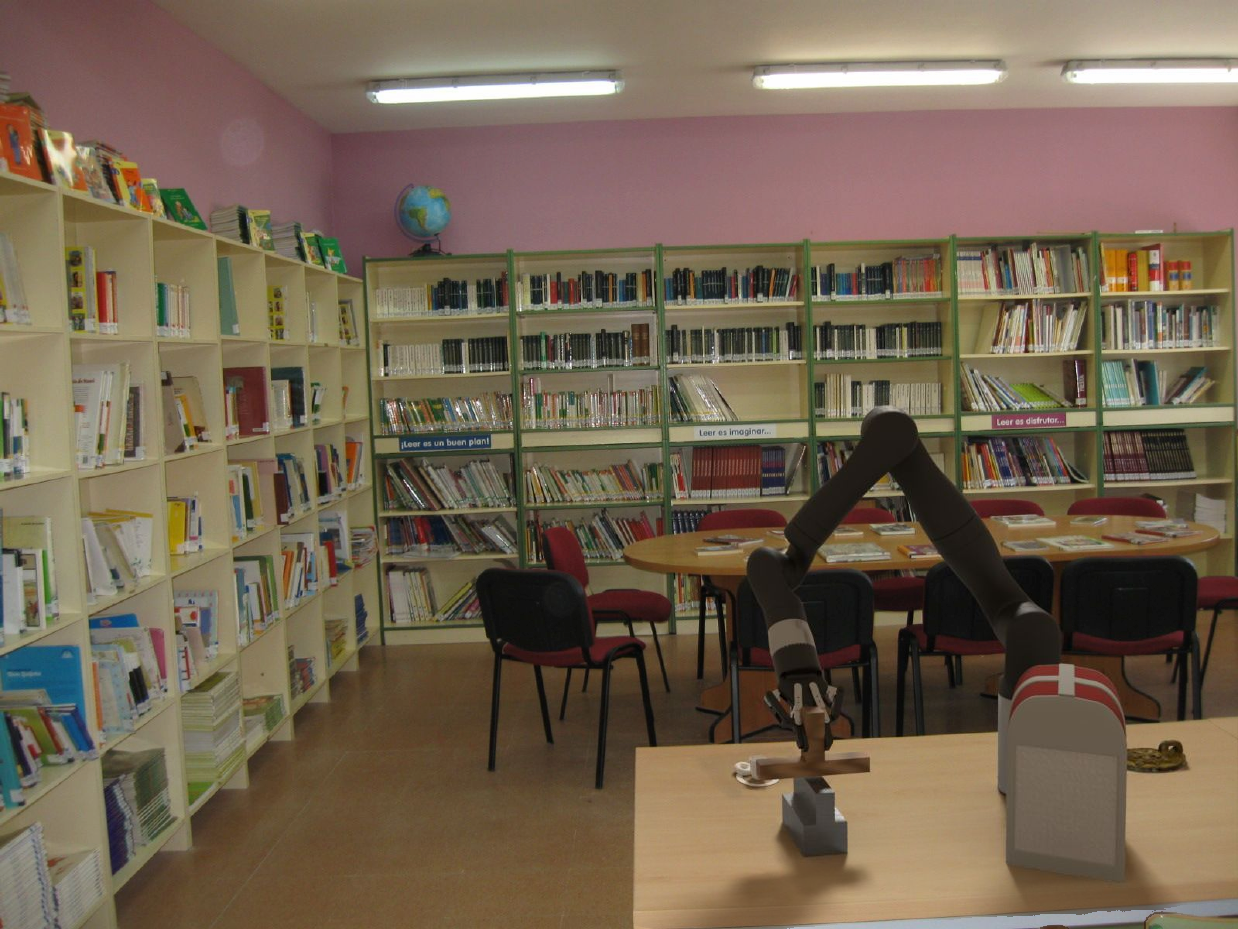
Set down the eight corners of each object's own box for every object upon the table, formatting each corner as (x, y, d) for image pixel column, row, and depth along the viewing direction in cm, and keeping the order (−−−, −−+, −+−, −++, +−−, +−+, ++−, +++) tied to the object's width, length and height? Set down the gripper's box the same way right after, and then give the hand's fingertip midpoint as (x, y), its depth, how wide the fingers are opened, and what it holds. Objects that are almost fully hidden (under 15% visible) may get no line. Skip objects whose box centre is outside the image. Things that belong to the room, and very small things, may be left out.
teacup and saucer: (728, 772, 189) (728, 751, 189) (767, 767, 191) (767, 746, 190) (745, 791, 180) (745, 769, 180) (786, 785, 182) (786, 764, 182)
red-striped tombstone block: (1003, 863, 151) (1005, 690, 149) (1010, 815, 167) (1011, 657, 165) (1126, 884, 144) (1130, 702, 142) (1120, 831, 160) (1124, 667, 158)
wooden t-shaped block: (863, 765, 163) (863, 703, 162) (870, 773, 160) (870, 709, 159) (755, 773, 161) (754, 710, 160) (760, 781, 158) (759, 716, 157)
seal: (1120, 781, 183) (1199, 775, 183) (1122, 757, 182) (1201, 752, 182) (1093, 756, 192) (1168, 751, 193) (1094, 733, 191) (1170, 728, 192)
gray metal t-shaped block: (782, 822, 167) (781, 764, 166) (823, 819, 168) (822, 761, 167) (804, 857, 155) (803, 794, 154) (847, 853, 156) (847, 791, 155)
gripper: (756, 644, 165) (778, 743, 154) (839, 638, 167) (865, 736, 156) (749, 665, 171) (769, 762, 160) (828, 660, 172) (854, 756, 162)
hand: (816, 749), depth 158 cm, fingers closed on wooden t-shaped block, 3 cm apart
